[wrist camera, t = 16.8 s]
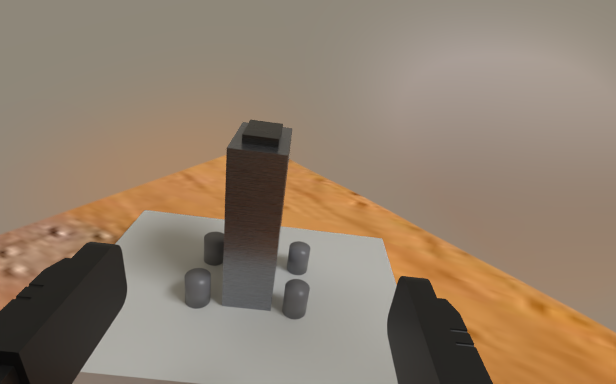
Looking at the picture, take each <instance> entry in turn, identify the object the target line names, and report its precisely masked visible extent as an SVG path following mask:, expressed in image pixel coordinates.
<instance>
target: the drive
mask: <svg viewBox="0 0 616 384" xmlns="http://www.w3.org/2000/svg"><path fill="white" fill-rule="evenodd" d="M291 135H292V128H285V127H283V124H279V123H270V122H263V121H256V120H250V121H249V123H246V122H243V123H242V125H241V126H240V128H239V129H238V131H237V133H236V134H235V136H234V137H233V139H232V140H231V142H230V144H229V145H228V147H227V160H226V192H225V224H224V256H223V287H222V306H226V307H236V308H246V309H256V310H266V311H271V304H272V296H273V289H274V281H275V273H276V266H277V257H278V249H279V240H280V231H281V223H282V214H283V205H284V196H285V188H286V179H287V170H288V162H289V153H290V144H291Z"/></svg>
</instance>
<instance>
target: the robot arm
mask: <svg viewBox="0 0 616 384" xmlns="http://www.w3.org/2000/svg"><path fill="white" fill-rule="evenodd" d="M126 296H127V281H126V274H125V267H124V261H123V254H122V249H121V247H120V246H119V245H116V244H107V243H97V242H88V243H86V244H85V245H84V246H83V247H82V248H81V249H80V250H79V251H78V252H77V253H76V254H75V255H74V256H73V257H72V258H64V259H62V260H61V261H59V262H57V263H55V264H53V265H52V266H50V267H48V268H46V269H44V270H43V271H42V272H41V273H40V274H39V275H38V276H37V277H36V278H35V279H34V280H33V281H32V282H31V283H30V284H29V287H25V288H24V289H23V290H22V291H21V292H20V293H19V294H18V295H17V296H16V299H13V300H11V301H10V302H9V303H8V304H7V305H6V306H5V307H4V308H3V309H2V310H1V311H0V384H72V383H73V382H74V380H75V379H76V377H77V375H78V374H79V372H80V371H81V369H82V368H83V366H84V365H85V363H86V362H87V360H88V359H89V357H90V356H91V354H92V353H93V351H94V350H95V348H96V347H97V345H98V344H99V342H100V341H101V339H102V338H103V336H104V335H105V333H106V332H107V330H108V329H109V327H110V326H111V324H112V323H113V321H114V320H115V318H116V317H117V315H118V313H119V312H120V310H121V309H122V307H123V305H124V303H125V300H126ZM387 335H388V340H389V345H390V349H391V354H392V359H393V363H394V368H395V372H396V377H397V381H398V384H493V383H492V381H491V379H490V376H489V374H488V372H487V370H486V368H485V366H484V364H483V362H482V360H481V357H480V355H479V353H478V351H477V349H476V348H475V347H474V343H473V341H472V339H471V336H470V334H469V333H467V328H466V326H465V324H464V322H463V320H462V318H461V315H460V314H459V312H458V311H457V310H456V309H455V308H454V307H453V306H452V305H451V304H450V303H449V302H448V301H447V300H446V299H440V298H437V297H436V295H435V292H434V290H433V287H432V285H431V283H430V281H429V280H428V279H424V278H415V277H406V276H401V277H400V278H399V280H398V283H397V287H396V290H395V293H394V297H393V300H392V303H391V307H390V310H389V314H388V319H387Z"/></svg>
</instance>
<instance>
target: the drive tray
mask: <svg viewBox="0 0 616 384" xmlns="http://www.w3.org/2000/svg"><path fill="white" fill-rule="evenodd" d="M224 224H225V220H223V219H215V218H206V217H198V216H190V215H181V214H173V213H165V212H156V211H148V210H145V211H144V212H143V213H142V214H141V215H140V216H139V217H138V218H137V220H136V221H135V222H134V223H133V224H132V225H131V226H130V228H129V229H128V230H127V231H126V232H125V233H124V234H123V236H122V237H121V238H120V239H119V240H118V241H117V242H116V245H119V246H120V247H121V249H122V254H123V261H124V267H125V274H126V281H127V296H126V300H125V303H124V305H123V307H122V309H121V310H120V312H119V313H118V315H117V317H116V318H115V320H114V321H113V323H112V324H111V326H110V327H109V329H108V330H107V332H106V333H105V335H104V336H103V338H102V339H101V341H100V342H99V344H98V345H97V347H96V348H95V350H94V351H93V353H92V354H91V356H90V357H89V359H88V360H87V362H86V363H85V365H84V366H83V368H82V369H81V371H80V372H79V374H78V375H77V377H76V379H75V380H74V382H73V383H72V384H398V381H397V377H396V372H395V368H394V363H393V359H392V354H391V349H390V345H389V340H388V335H387V319H388V314H389V310H390V307H391V303H392V300H393V297H394V293H395V290H396V287H397V285H396V282H395V279H394V276H393V272H392V269H391V266H390V263H389V259H388V256H387V253H386V250H385V246H384V243H383V240H382V239H381V238H373V237H364V236H356V235H348V234H339V233H331V232H323V231H314V230H306V229H298V228H289V227H281V231H280V240H279V249H278V257H277V266H276V273H275V281H274V289H273V296H272V304H271V311H266V310H256V309H246V308H236V307H226V306H222V287H223V256H224Z"/></svg>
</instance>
